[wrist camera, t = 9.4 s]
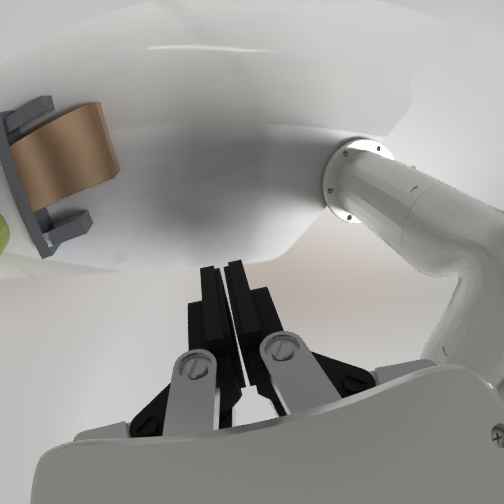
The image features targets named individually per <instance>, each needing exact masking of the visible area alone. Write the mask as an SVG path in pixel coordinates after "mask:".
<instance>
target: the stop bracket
mask: <svg viewBox="0 0 504 504" xmlns="http://www.w3.org/2000/svg"><path fill="white" fill-rule="evenodd" d="M53 110H55V109H54V105H53V101H52V97H51V96H40V97H39V98H37V99H35V100H33V101H32V102H30V103H28V104H27V105H25V106H23V107H22V108H20V109H19V110H17V111H16V112H15V110H11V111H5V112H0V159H1V162H2V165H3V168H4V171H5V174H6V177H7V180H8V183H9V186H10V188H11V191H12V194H13V196H14V199H15V201H16V204H17V206H18V209H19V211H20V213H21V216H22V218H23V220H24V222H25V225H26V227H27V229H28V231H29V233H30V235H31V238H32V240H33V242H34V244H35V246H36V248H37V250H38V252H39V254H40V256H41V257H42V259H44V258H46V257H49V256H52V255H53V254H54V253H55V251H56V250H57V248H58V247H59V245H60V244H61V243H62V242H65V241H67V240H70V239H73V238H75V237H78V236H81V235H83V234H86V233H87V232H88V231H89V229H90V227H91V226H92V224H93V222H92V220H91V217H90V215H89V212H88V210H86V211H83V212H81V213H78V214H76V215H73V216H71V217H68V218H66V219H63V220H61V221H58V222H56V223H52V221H51V218H50V216H49V214H48V211H47V209H46V207H43V208H41V209H39V210H37V211H35V212H33V211H32V209H31V206H30V204H29V202H28V199H27V197H26V194H25V192H24V189H23V186H22V184H21V181H20V178H19V176H18V173H17V170H16V167H15V164H14V161H13V158H12V155H11V152H10V148H9V147H10V146H11V145H13V144H14V143H16V142H17V141H19V140H21V139H22V137H21V134H20V129H22V128H23V127H25V126H27V125H28V124H30V123H32V122H33V121H35V120H37V119H39V118H40V117H42V116H44V115H46V114H48V113H50V112H52V111H53Z"/></svg>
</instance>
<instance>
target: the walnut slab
mask: <svg viewBox="0 0 504 504" xmlns="http://www.w3.org/2000/svg"><path fill="white" fill-rule="evenodd" d="M9 148H10V152H11V155H12V158H13V161H14V164H15V167H16V170H17V173H18V176H19V178H20V181H21V184H22V186H23V189H24V192H25V194H26V197H27V199H28V202H29V204H30V206H31V209H32V211H33V212H35V211H37V210H39V209H41V208H43V207H46V206H48V205H50V204H52V203H54V202H56V201H59V200H61V199H63V198H65V197H68V196H70V195H72V194H74V193H77V192H79V191H82V190H84V189H86V188H89V187H91V186H94V185H96V184H99V183H101V182H104V181H106V180H109V179H112V178H114V177H115V175H116V174H117V173H118V172H119V171H120V168H119V165H118V162H117V159H116V156H115V153H114V150H113V146H112V143H111V140H110V137H109V133H108V130H107V126H106V123H105V119H104V116H103V112H102V108H101V105H100V102H94V103H89V104H86V105H84V106H82V107H80V108H78V109H76V110H74V111H72V112H69V113H67V114H65V115H63V116H61V117H60V118H58V119H56V120H54V121H52V122H50V123H48V124H46V125H45V126H43V127H41V128H39V129H37V130H36V131H34V132H32V133H31V134H29V135H27V136H25V137H24V138H22V139H21V140H19V141H17V142H16V143H14V144H13V145H11V146H10V147H9Z"/></svg>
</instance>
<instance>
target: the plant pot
mask: <svg viewBox="0 0 504 504" xmlns="http://www.w3.org/2000/svg"><path fill="white" fill-rule="evenodd" d="M8 240H9V229H8V227H7V225H6V223H5V220H4V218H3V217H2V216H1V215H0V255H1V253H2V251H3V250H4V248H5V246H6V245H7V243H8Z"/></svg>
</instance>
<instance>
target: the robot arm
mask: <svg viewBox="0 0 504 504" xmlns="http://www.w3.org/2000/svg"><path fill="white" fill-rule="evenodd" d="M343 152H344V153H343ZM322 186H323V195H324V199H325V202H326V204H327V206H328V207H329V209H330V210H331V211H332V212H333V213H334V214H335V215H336V216H337V217H339V218H340V219H342V220H343V221H345V222H348V223H363V224H364V225H365V226H367V227H368V228H369V229H370V230H371V231H373V232H374V233H375V234H376V235H377V236H378V237H380V238H381V239H382V240H383V241H384V242H386V243H387V244H388V245H389V246H390V247H391V248H392V249H394V250H395V251H396V252H397V253H398V254H399V255H400V256H402V257H403V258H404V259H405V260H406V261H407V262H408V263H409V264H410V265H411V266H413V267H414V268H415V269H416V270H417V271H419V272H420V273H422V274H424V275H427V276H430V277H448V276H453V275H457V274H458V276H459V279H458V284H457V286H456V288H455V291H454V293H453V295H452V298H451V300H450V302H449V304H448V306H447V307H446V309H445V311H444V313H443V315H442V316H441V318H440V320H439V322H438V323H437V325H436V327H435V329H434V330H433V332H432V334H431V336H430V337H429V339H428V341H427V343H426V345H425V347H424V349H423V352H422V354H421V359H420V360H416V361H411V362H406V363H402V364H396V365H390V366H385V367H379V368H375V371H370V372H368V371H366V370H364V369H362V368H359V367H356V366H352V365H350V364H346V363H343V362H340V361H337V360H334V359H331V358H328V357H326V356H323V355H320V354H317V353H314V352H311V351H310V350H309V349H308V347H307V346H306V344H305V343H304V341H303V340H302V339H301V338H300V337H299V336H298V335H297V334H295V333H292V332H288V331H284V330H283V327H282V325H281V322H280V319H279V317H278V314H277V311H276V309H275V306H274V303H273V301H272V298H271V296H270V293H269V291H268V288H267V287H263V288H258V289H254V290H250V288H249V285H248V282H247V278H246V275H245V272H244V268H243V264H242V261H241V260H237V261H232V262H228V265H229V266H226V267H224V272H225V277H226V283H227V288H228V293H229V299H230V304H231V309H232V314H233V319H234V325H235V330H236V334H237V338H238V342H239V345H240V350H241V353H242V357H243V361H244V365H245V368H246V372H247V376H248V379H249V383H250V386H254V385H256V387H257V391H258V394H260V395H262V396H264V397H266V398H268V399H269V400H270V404H271V406H272V408H273V410H274V412H275V414H276V416H277V418H274V419H270V420H266V421H261V422H257V423H252V424H247V425H241V426H236V427H235V406H234V405H235V404H236V403H237V402H238V401H239V399H240V398H241V396H242V392H241V388H244V387H246V385H245V380H244V376H243V370H242V365H241V361H240V356H239V351H238V346H237V342H236V336H235V331H234V326H233V321H232V316H231V313H230V309H229V305H228V301H227V297H226V293H225V289H224V285H223V280H222V276H221V273H220V268H217V269H214V266H209V267H204V268H200V273H201V290H202V301H198V302H193V303H188V343H189V351H188V352H186V353H184V354H182V355H181V356H180V357H179V358H178V359H177V361H176V362H175V365H174V368H173V373H172V379H171V383H170V384H169V385H168V386H167V387H166V388H165V389H164V390H163V391H161V393H159V394H158V395H157V396H156V397H155V398H154V399H153V400H152V401H151V402H150V403H149V404H148V405H147V406H146V407H145V408H144V409H143V410H142V411H141V412H140V413H139V414H138V415H136V416H135V418H134V419H133V420H132V422H130V423H126V422H125V421H124V422H120V423H116V424H112V425H108V426H104V427H100V428H96V429H91V430H87V431H83V432H81V433H79V434H78V435H76V437H75V438H74V440H73V442H69V443H65V444H62V445H59V446H57V447H54V448H52V449H50V450H49V451H47V452H46V453H45V454H44V455H43V456H42V457H41V458H40V460H39V462H38V464H37V467H36V470H35V474H34V479H33V485H32V491H31V502H30V504H504V212H503V211H501V210H499V209H496V208H494V207H492V206H490V205H487V204H485V203H483V202H481V201H479V200H477V199H475V198H473V197H471V196H469V195H467V194H465V193H463V192H461V191H460V190H457V189H456V188H454V187H452V186H450V185H448V184H445V183H444V182H442V181H440V180H438V179H436V178H434V177H431V176H429V175H427V174H425V173H423V172H421V171H419V170H416V168H415V167H414V166H407V165H405V164H402V163H400V162H398V161H396V160H394V158H393V156H392V154H391V153H390V151H389V150H388V149H387V148H386V147H385V146H383V145H382V144H380V143H378V142H376V141H373V140H370V139H356V140H353V141H350V142H347V143H346V144H344V145H343V146H341V147H340V148H339V149H338V150H337V151H336V152H335V153H334V154H333V156H332V157H331V158H330V160H329V162H328V164H327V166H326V169H325V172H324V175H323V183H322ZM328 189H329V190H328Z"/></svg>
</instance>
